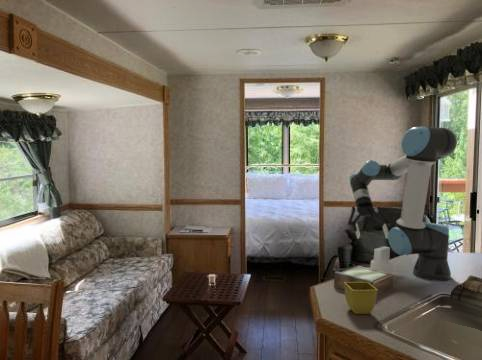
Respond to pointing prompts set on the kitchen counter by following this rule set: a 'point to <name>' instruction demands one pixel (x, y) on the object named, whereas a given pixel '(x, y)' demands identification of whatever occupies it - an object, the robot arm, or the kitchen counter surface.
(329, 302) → the kitchen counter surface
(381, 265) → the cylinder with rectangular tab
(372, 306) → the flower pot
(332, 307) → the kitchen counter surface
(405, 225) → the robot arm
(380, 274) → the dock
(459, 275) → the kitchen counter surface
